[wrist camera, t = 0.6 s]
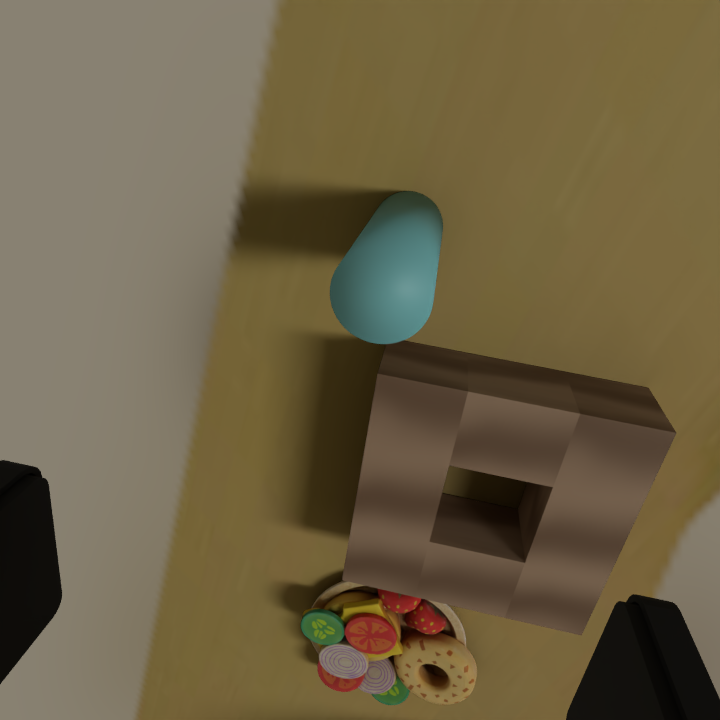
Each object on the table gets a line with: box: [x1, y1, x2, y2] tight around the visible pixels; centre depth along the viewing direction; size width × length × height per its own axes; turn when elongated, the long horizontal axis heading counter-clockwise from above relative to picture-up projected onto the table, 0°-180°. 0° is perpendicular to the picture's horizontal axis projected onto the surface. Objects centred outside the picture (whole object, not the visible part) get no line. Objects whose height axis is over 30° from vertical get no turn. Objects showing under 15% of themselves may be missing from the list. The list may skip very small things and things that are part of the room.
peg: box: [330, 191, 443, 344], centre depth 27 cm, size 4×4×12 cm
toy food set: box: [301, 581, 477, 705], centre depth 46 cm, size 13×13×3 cm
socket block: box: [342, 341, 676, 635], centre depth 36 cm, size 16×16×5 cm
